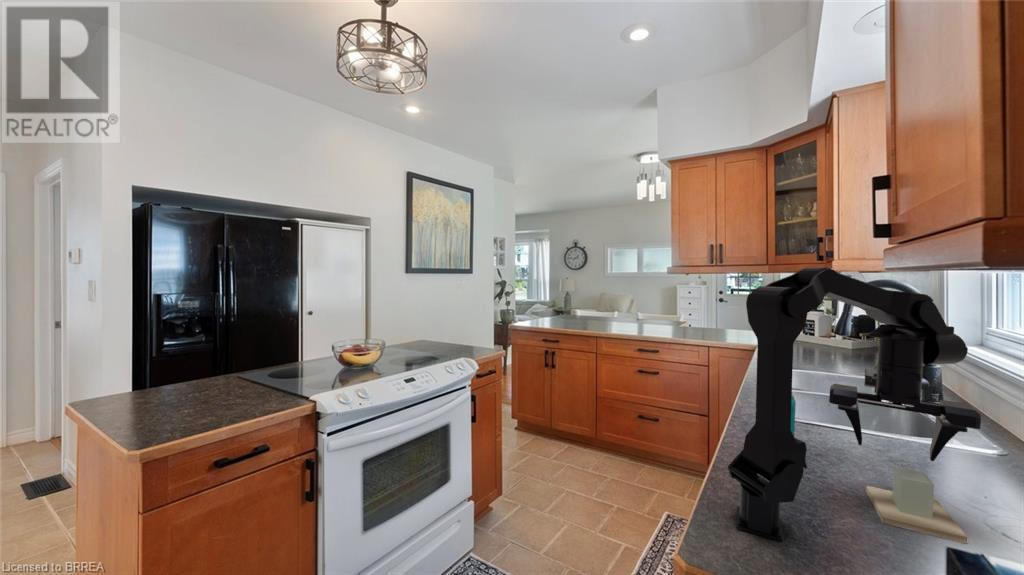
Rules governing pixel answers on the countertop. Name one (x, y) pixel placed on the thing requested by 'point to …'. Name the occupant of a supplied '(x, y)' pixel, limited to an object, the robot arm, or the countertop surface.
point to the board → (915, 517)
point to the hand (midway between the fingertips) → (894, 452)
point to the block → (913, 492)
